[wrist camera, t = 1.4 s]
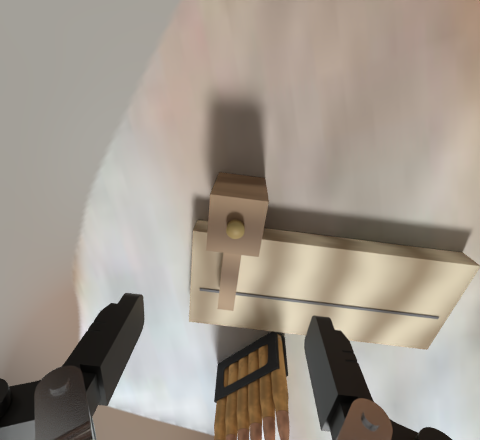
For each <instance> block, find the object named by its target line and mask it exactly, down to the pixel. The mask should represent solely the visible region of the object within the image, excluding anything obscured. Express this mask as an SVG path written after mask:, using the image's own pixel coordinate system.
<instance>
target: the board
mask: <svg viewBox="0 0 480 440" xmlns="http://www.w3.org/2000/svg"><path fill="white" fill-rule="evenodd" d="M207 231H208V221H203V220H197V223H196V225H195V227H194V230H193V242H192V265H191V288H190V311H189V322H197V323H205V324H214V325H222V326H231V327H239V328H248V329H256V330H265V331H273V332H282V333H290V334H299V335H306V334H307V331H308V327H309V324H310V321H311V318H312V316H313V315H314V316H323V317H329V318H330V319H331V321H332V323H333V326H334V329H335V330H341V331H342V332H343V334H344V335H345V336H346V337H347V339H348V340H350V341H358V342H367V343H375V344H384V345H392V346H401V347H409V348H418V349H426V350H427V349H428V348H429V346H430V344H431V343H432V341H433V340H434V338H435V337H436V335H437V334H438V332H439V330H440V329H441V327H442V326H443V324H444V323H445V321H446V320H447V318H448V316H449V315H450V313H451V312H452V310H453V309H454V307H455V305H456V304H457V302H458V301H459V299H460V298H461V296H462V295H463V293H464V291H465V290H466V288H467V287H468V285H469V284H470V282H471V281H472V279H473V277H474V276H475V274H476V273H477V271H478V270H479V268H480V265H478V264H477V263H476V262H474V261H473V260H472V259H470V258H469V257H468V256H467V255H465V254H464V253H462V252H454V251H446V250H437V249H429V248H421V247H413V246H405V245H397V244H389V243H381V242H373V241H365V240H357V239H348V238H340V237H332V236H324V235H316V234H308V233H300V232H292V231H284V230H276V229H268V228H264V231H263V236H262V242H261V248H260V253H259V257H253V256H245V255H241V261H240V268H239V275H238V282H237V289H236V296H235V303H234V310H233V311H230V310H222V309H217V308H218V299H219V290H220V280H221V271H222V262H223V253H221V252H213V251H206V245H207Z"/></svg>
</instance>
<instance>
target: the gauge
mask: <svg viewBox="0 0 480 440" xmlns="http://www.w3.org/2000/svg"><path fill="white" fill-rule="evenodd" d="M268 203H269V200H268V193H267V187H266V180H265V178H261V177H253V176H245V175H238V174H230V173H222V172H219V174H218V176H217V179H216V181H215V184H214V186H213V188H212V191H211V193H210V203H209V217H208V231H207V245H206V251H213V252H221V253H223V262H222V271H221V280H220V290H219V299H218V308H217V309H222V310H230V311H233V310H234V303H235V296H236V289H237V282H238V275H239V268H240V261H241V255H245V256H253V257H259V253H260V248H261V242H262V236H263V231H264V225H265V220H266V214H267V209H268Z"/></svg>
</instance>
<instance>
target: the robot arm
mask: <svg viewBox="0 0 480 440" xmlns="http://www.w3.org/2000/svg"><path fill="white" fill-rule="evenodd" d="M143 325H144V303H143V295H140V294H131V293H125V294H124V295H123V296H122V298H121V300H120V301H119V303H118V304H114V303H111V304H109V305H108V306H107V307H105V308H104V309H103V310H102V311H100V313H99V314H98V316H97V317H96V319H95V320H94V323H92V324H91V326H90V327H89V329H88V331H87V332H86V333H85V335H84V336H83V337H82V339H81V340H80V342H79V343H78V345H77V346H76V348H75V349H74V350H73V352H72V353H71V355H70V356H69V358H68V359H67V361H66V362H65V363H64V364H63V366H62V367H59V368H56V369H55V370H53V371H51V372H49V373H48V374H47V375H45V376H44V377H43V378H42V380H39V381H35V382H31V383H26V384H20V385H15V386H10V387H9V386H8V384H7V382H6V381H5V380H3V379H0V440H96V434H95V429H94V423H93V419H92V416H93V414H94V412H95V410H96V408H97V406H98V405H105V406H108V403H109V401H110V399H111V397H112V395H113V393H114V390H115V388H116V386H117V384H118V382H119V380H120V377H121V375H122V373H123V371H124V369H125V367H126V364H127V362H128V360H129V358H130V356H131V354H132V351H133V349H134V347H135V345H136V343H137V341H138V338H139V336H140V334H141V332H142V329H143ZM304 347H305V354H306V359H307V364H308V369H309V374H310V379H311V383H312V388H313V393H314V398H315V403H316V408H317V412H318V417H319V422H320V427H321V431H330V432H331V436H332V440H452V439H451V438H450V437H448V436H447V435H446V434H444V433H443V432H441V431H439V430H437V429H435V428H431V427H426V428H423V429H422V430H421V431H420V432H419V433H417V432H415V431H413V430H411V429H408V428H406V427H404V426H402V425H399V424H397V423H395V422H393V421H392V420H390V419H389V417H388V416H387V414H386V413H385V412H384V410H383V409H382V408H381V407H380V406H379V405H377V404H376V403H374V401H373V399H372V397H371V394H370V392H369V389H368V387H367V384H366V382H365V379H364V377H363V374H362V372H361V369H360V367H359V364H358V363H357V359H356V357H355V354H354V353H353V352H354V351H353V349H352V346H351V344H350V341H349V340H348V339H347V337H346V336H345V335H344V334H343V332H342V331H341V330H335V329H334V326H333V323H332V321H331V319H330V318H329V317H323V316H314V315H313V316H312V318H311V321H310V324H309V327H308V331H307V334H306V337H305V343H304Z"/></svg>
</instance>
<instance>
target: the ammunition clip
mask: <svg viewBox="0 0 480 440" xmlns="http://www.w3.org/2000/svg"><path fill="white" fill-rule="evenodd" d="M287 376H288V368H287V357H286V346H285V337H283V336H282V335H281V334H280V333H279V332H273V331H272V332H271V333H269V334H267V335H266V336H264V337H262V338H261V339H259V340H257V341H256V342H254V343H252V344H251V345H249V346H247V347H246V348H244V349H242V350H241V351H239V352H237V353H236V354H234V355H232V356H231V357H229V358H227V359H226V360H224V361H222V362H221V363H219V364H218V368H217V378H216V389H215V400H214V402H215V403H217V405H216V414H215V423H214V432H215V436H214V440H237V433H238V440H249V431H250V438H251V440H262V419H263V430H264V438H265V440H275V411H276V417H277V426H278V431H279V436H280V439H281V440H289V416H288V414H289V413H288V389H287V380H286V377H287Z"/></svg>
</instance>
